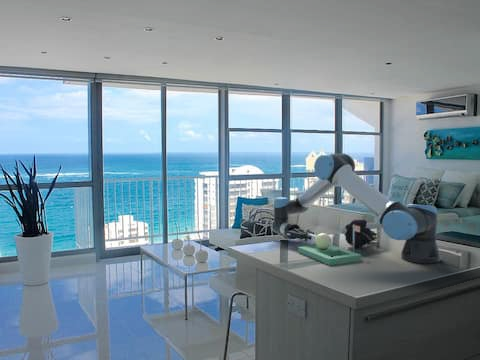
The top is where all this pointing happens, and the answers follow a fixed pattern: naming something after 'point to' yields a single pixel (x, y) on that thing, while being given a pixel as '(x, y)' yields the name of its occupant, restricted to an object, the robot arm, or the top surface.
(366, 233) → the figurine
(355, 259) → the green
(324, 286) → the top surface
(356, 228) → the flagpost
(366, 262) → the top surface
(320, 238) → the ball
